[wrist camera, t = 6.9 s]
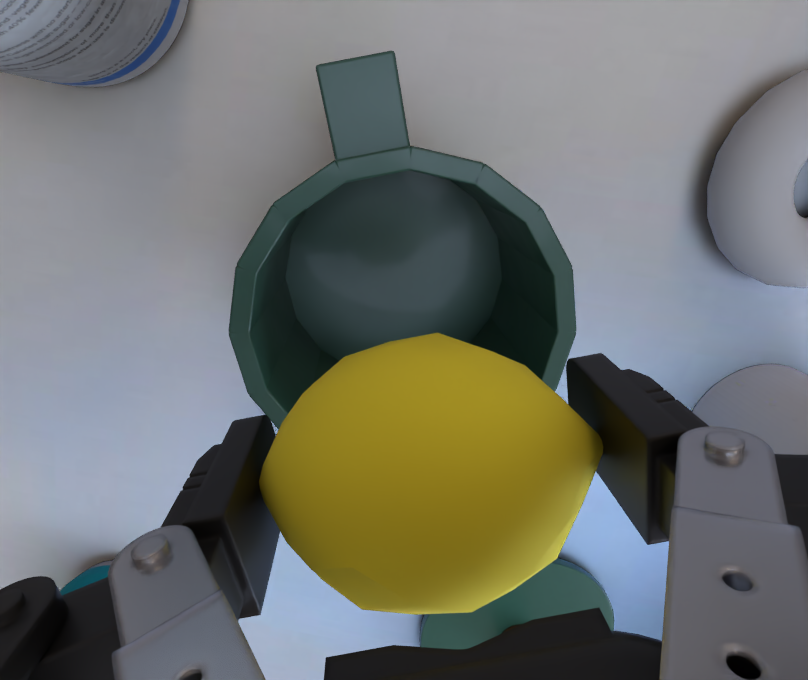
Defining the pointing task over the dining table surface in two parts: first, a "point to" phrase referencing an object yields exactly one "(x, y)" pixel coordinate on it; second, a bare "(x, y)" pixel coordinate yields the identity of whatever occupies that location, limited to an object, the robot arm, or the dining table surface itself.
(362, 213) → the pot
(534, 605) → the pot lid
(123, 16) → the supplement tub
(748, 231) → the donut
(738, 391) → the cup
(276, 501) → the lemon
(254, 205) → the dining table surface
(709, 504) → the robot arm
